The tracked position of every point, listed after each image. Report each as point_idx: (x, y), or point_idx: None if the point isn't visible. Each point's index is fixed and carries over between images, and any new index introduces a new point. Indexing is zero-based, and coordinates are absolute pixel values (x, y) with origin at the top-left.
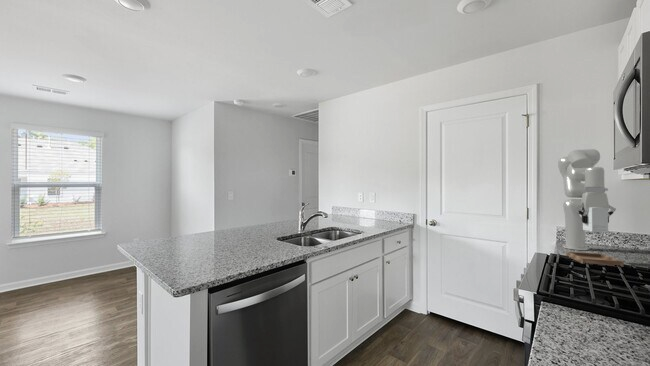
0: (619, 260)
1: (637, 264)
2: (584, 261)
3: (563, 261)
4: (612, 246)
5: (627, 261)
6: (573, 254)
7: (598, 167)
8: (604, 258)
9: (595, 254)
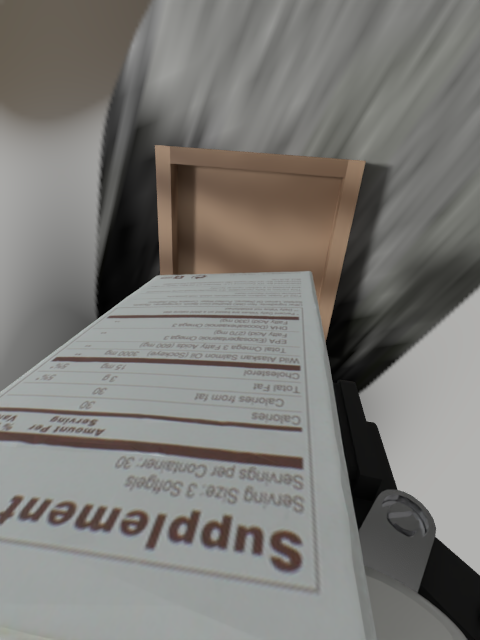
0: None
1: (444, 287)
2: None
3: (109, 305)
4: None
5: (461, 214)
6: (162, 243)
7: None
8: (333, 221)
9: (313, 174)
